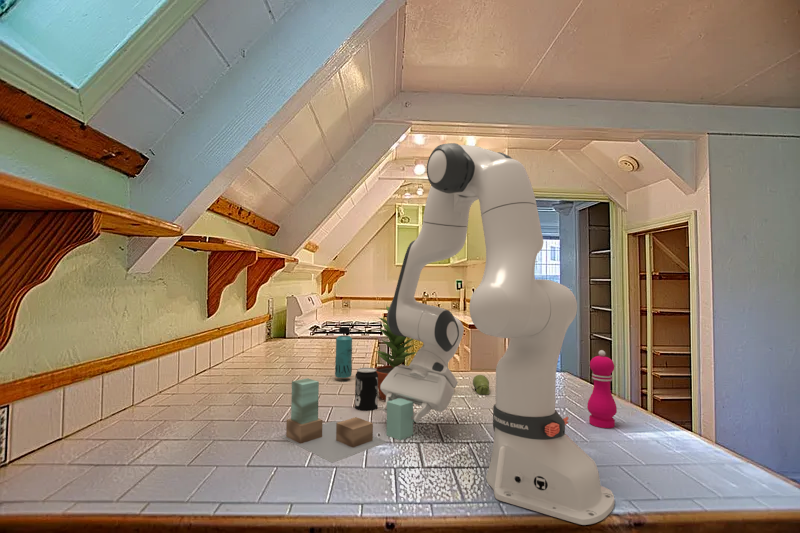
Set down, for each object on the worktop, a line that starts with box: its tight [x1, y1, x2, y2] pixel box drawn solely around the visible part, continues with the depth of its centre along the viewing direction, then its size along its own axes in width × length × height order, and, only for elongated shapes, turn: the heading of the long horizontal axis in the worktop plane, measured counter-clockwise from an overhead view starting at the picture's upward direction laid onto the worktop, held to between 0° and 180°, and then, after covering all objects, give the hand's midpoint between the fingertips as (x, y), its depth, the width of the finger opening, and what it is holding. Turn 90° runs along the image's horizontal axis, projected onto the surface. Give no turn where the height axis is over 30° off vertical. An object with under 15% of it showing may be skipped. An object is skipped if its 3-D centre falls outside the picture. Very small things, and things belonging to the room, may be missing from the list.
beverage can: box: [354, 367, 379, 412], centre depth 125 cm, size 7×7×12 cm
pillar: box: [386, 398, 414, 441], centre depth 103 cm, size 4×4×9 cm
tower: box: [285, 378, 323, 444], centre depth 101 cm, size 6×6×13 cm
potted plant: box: [375, 304, 417, 401], centre depth 140 cm, size 15×15×30 cm
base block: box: [336, 416, 374, 447], centre depth 99 cm, size 6×6×4 cm
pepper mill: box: [587, 349, 618, 429], centre depth 116 cm, size 7×7×20 cm
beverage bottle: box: [334, 326, 353, 379], centre depth 162 cm, size 6×7×20 cm
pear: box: [472, 374, 491, 396], centre depth 148 cm, size 6×5×10 cm
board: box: [280, 420, 388, 464], centre depth 100 cm, size 20×16×1 cm
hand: (399, 416), depth 103 cm, fingers open, 8 cm apart
